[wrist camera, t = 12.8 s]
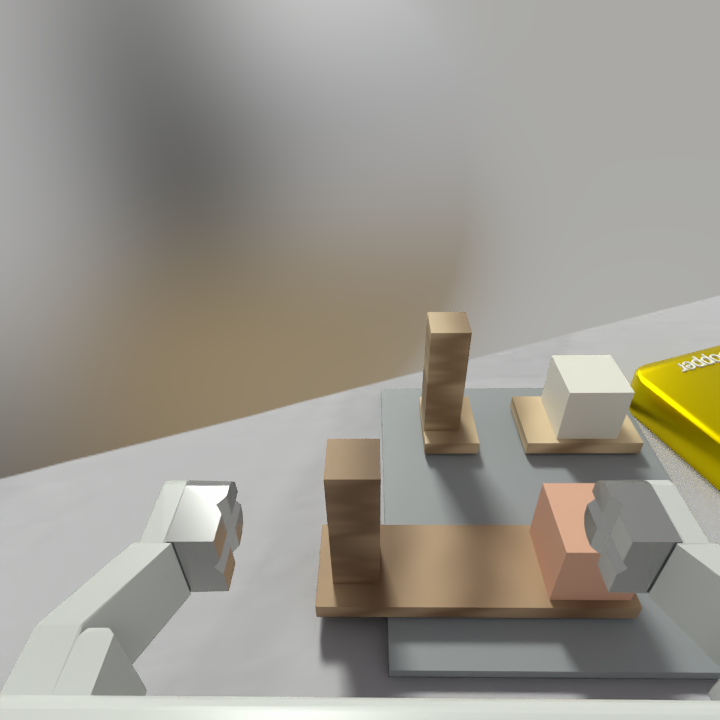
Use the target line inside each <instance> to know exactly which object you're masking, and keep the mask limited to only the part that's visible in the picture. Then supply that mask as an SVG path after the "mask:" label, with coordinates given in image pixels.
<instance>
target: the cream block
mask: <svg viewBox="0 0 720 720" xmlns="http://www.w3.org/2000/svg"><path fill="white" fill-rule="evenodd" d="M634 393H635V392H634V391H633V389H632V388H631V386H630V384H629V383H628V381H627V380H626V378H625V377H624V375H623V374H622V372H621V370H620V369H619V367H618V366H617V364H616V363H615V361H614V360H613V358H612V356H611V355H552V356H551V360H550V364H549V368H548V372H547V377H546V381H545V385H544V389H543V393H542V397H541V402H542V404H543V407H544V409H545V412H546V414H547V416H548V419H549V421H550V424H551V426H552V429H553V431H554V434H555V436H556V438H557V439H617V438H618V435H619V432H620V430H621V427H622V425H623V422H624V419H625V417H626V414H627V412H628V409H629V406H630V404H631V401H632V399H633V396H634Z"/></svg>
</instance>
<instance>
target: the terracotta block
mask: <svg viewBox="0 0 720 720" xmlns="http://www.w3.org/2000/svg"><path fill="white" fill-rule="evenodd" d="M594 485H595V483H543V484H542V488H541V491H540V495H539V498H538V502H537V505H536V509H535V512H534V516H533V519H532V523H531V526H530V530H529V532H530V535H531V539H532V542H533V546H534V549H535V553H536V556H537V560H538V563H539V566H540V570H541V573H542V577H543V580H544V584H545V587H546V591H547V594H548V597H549V600H631V599H632V597H633V595H634V593H617V592H608V590H607V587H606V585H605V582H604V580H603V577H602V575H601V572H600V570H599V567H598V565H597V564H598V561H599V558H600V556H601V555H600V554H599V553H598V552H597V551H595V550H594V549H593V548H592V547H591V546H590V544H589V542H588V539H587V536H586V532H585V527H584V513H585V510H586V507H587V504H588V503H590V502H591V501H593V500H594V499H595V497H594V495H593V492H592V490H593V488H594Z"/></svg>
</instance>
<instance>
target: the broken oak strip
mask: <svg viewBox="0 0 720 720" xmlns="http://www.w3.org/2000/svg"><path fill="white" fill-rule="evenodd" d="M471 334H472V332H471V329H470V325H469V322H468V318H467V315H466V312H428V313H427V327H426V343H425V357H424V371H423V385H422V397H420V400H419V410H420V419H421V428H422V436H423V445H424V453H425V454H478V450H479V444H480V443H479V439H478V435H477V430H476V426H475V422H474V418H473V414H472V409H471V405H470V401H469V397H463V396H464V388H465V381H466V373H467V365H468V357H469V350H470V342H471ZM541 397H542V396H512V399H511V404H510V408H511V411H512V414H513V417H514V420H515V423H516V426H517V429H518V432H519V435H520V438H521V441H522V444H523V447H524V450H525V453H640V451H641V449H642V446H643V444H644V442H643V441H642V439H641V437H640V436H639V434H638V432H637V430H636V429H635V427H634V425H633V424H632V422H631V420H630V419H629V417H628V415H627V414H626V417H625V419H624V422H623V425H622V427H621V430H620V432H619V435H618V438H617V439H557V438H556V436H555V434H554V431H553V429H552V426H551V424H550V421H549V419H548V416H547V414H546V412H545V409H544V407H543V404H542V402H541Z"/></svg>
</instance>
